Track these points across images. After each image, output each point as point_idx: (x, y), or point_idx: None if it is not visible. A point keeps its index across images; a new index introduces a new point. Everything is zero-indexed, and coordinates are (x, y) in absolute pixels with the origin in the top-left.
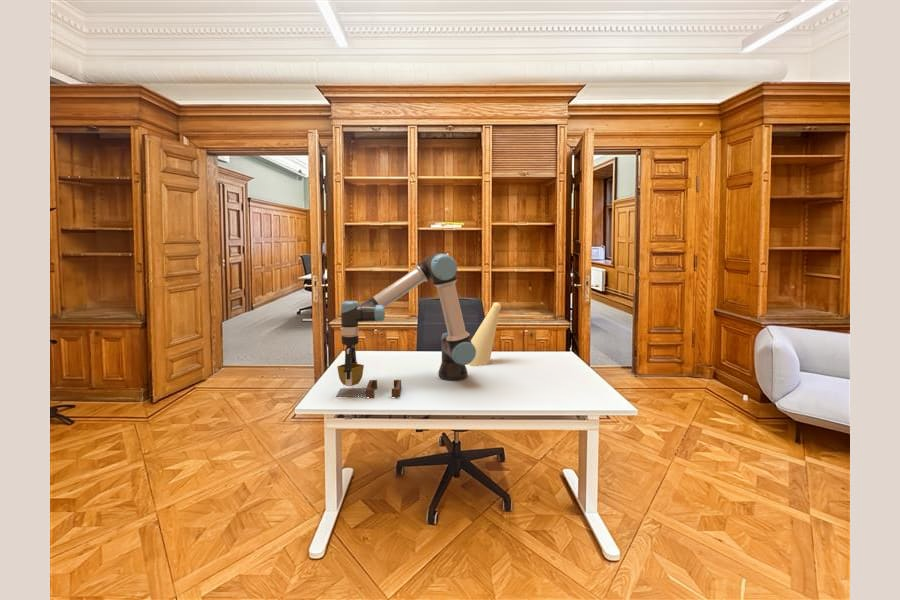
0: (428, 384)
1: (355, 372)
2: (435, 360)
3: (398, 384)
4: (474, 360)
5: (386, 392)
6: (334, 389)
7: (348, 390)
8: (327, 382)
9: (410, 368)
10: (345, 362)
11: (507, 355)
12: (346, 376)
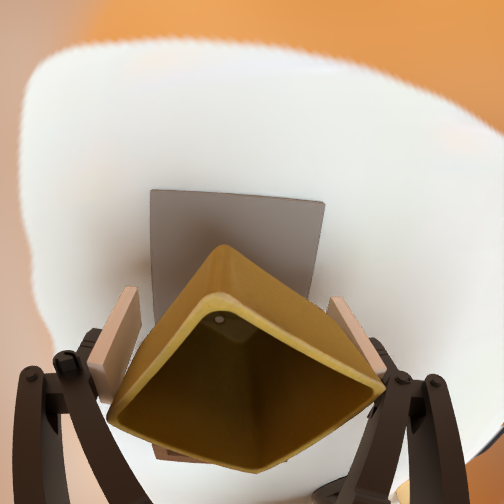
0: (299, 472)
1: (166, 410)
2: (480, 426)
3: None
4: (405, 493)
5: None
6: (333, 162)
7: (268, 257)
8: (459, 126)
9: (466, 405)
10: (16, 446)
11: None
12: (103, 339)
